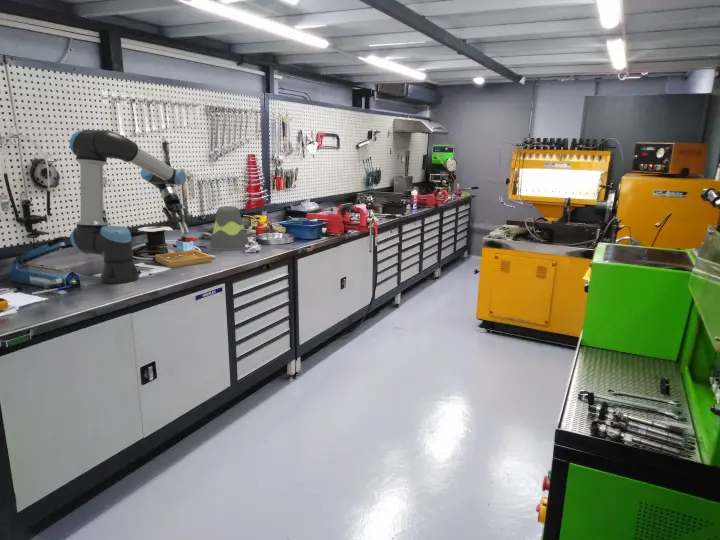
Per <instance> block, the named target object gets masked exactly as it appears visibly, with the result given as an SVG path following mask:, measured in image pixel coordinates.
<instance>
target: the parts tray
mask: <svg viewBox="0 0 720 540" xmlns="http://www.w3.org/2000/svg"><path fill="white" fill-rule="evenodd" d="M193 254H195V255H193ZM179 255H184V256H179ZM185 255H186V256H185ZM175 256H178V257H175ZM166 257H170V258H166ZM154 258H155V259H154V261H155V262H157V263H159V264H161V265H163V266H165V267H168V269H172V268H180V267H187V266H195V265H202V264H209V263H210V264H211V263H213V257H212V256H211V255H209V254H207V253H204V252H202V251H199V250H197V249H193V250H192V249H191V250H184V251H176V252H166V253H160V254H159V253H158V254H157V253H156V254H155V255H154Z"/></svg>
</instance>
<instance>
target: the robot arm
mask: <svg viewBox="0 0 720 540" xmlns="http://www.w3.org/2000/svg"><path fill="white" fill-rule="evenodd" d="M69 148H70V151H71V152H72V153H73V155H74V156H75V159H76V162H77V163H78V164H80V165H79V166H80V168H79V171H80V172H79V173H80V174H79V175H80V176H79V177H80V179H79V180H80V186H79V187H80V219H79V220H78V222H76V227H75V228H74V229H73V230H72V231H71V233H70V237H69V238H70V242H71V243H70V244H71V245H72V247H73V248H74V249H75V250H76V251H78V252H79V253H83V254H86V255H99V256H102V257H103V267H102V271H101V275H100V280H101V282H102V283H104V284H126V283H130V282H135V281H137V280H139V278H140V274H139V270H138V269H137V267H136V264H135V262H134V254H133V243H132V242H133V240H132V234H131V231H130V229H129V228H127V227H125V226H120V225H119V226H118V225H107V223H106V222H105V221H104V219H103V218H104V216H103V215H104V214H103V213H104V207H103V205H104V203H103V201H104V197H103V196H104V193H103V192H104V191H103V189H104V185H103V183H104V181H103V175H104V173H103V170H104V166H105V165H106V164H107V159H117V160H121V161H123V162H124V163H131V164H133V165H135V166H137V167H138V168H141V170H140V174H139V175H140V177H141V178H142V179H144V180H145V182H148V183H149V184H151V185H152V186H154V187H156V189H158V190H159V192H160V196H161V198H162V200H163V202H164V205H165V206H164V207H162V210H161V212H162V213H164V214H165V217H166V218H167V220H168V221H169V223H170V224H171V225H174V226H175V227H176V229H177V230H179V232H180V234H181V237H182V236H183V235H184V230H183V228H182V221H183V218H182V217H184V221H185V236H188V235H189V233H190V231H189V223H190V215H189V212H188V208H189V206H188V205H186V206H184V205H183V204H182V203H181V200H180V199H179V196H178V192H177V191H176V188H175V186H179V185H180V186H181V185H184V184H185V183H186V181H187V174H186V171H184V170H183V169H179V168H178V169H175V168H173V167H172V166H170V165H168V164H167V163H165V162H164V161H162V160H160V159H158V158H157V157H155V156H153V155H152V154H150V153H148V152H146V151H145V150H144V149H142V148H140V147H139V145H138V144H137V143H136V142H135V141H133V140H131V139H129V138H127V137H126V136H124V135H122V134H119V133H117V132H115V131H112V130H106V129H101V130H100V129H82V130H81V129H79V130H77V131H75V132H74V133H73V134H72V135H71V137H70V138H69ZM174 185H175V186H174ZM182 211H183V212H182ZM170 212H171V213H170ZM178 219H180V221H179V220H178Z"/></svg>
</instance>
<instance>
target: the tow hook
mask: <svg viewBox="0 0 720 540" xmlns="http://www.w3.org/2000/svg"><path fill="white" fill-rule="evenodd" d="M184 217H185V216H184ZM184 217H182V218H183V221H181V225H182V228H183V230H184V235H183V236H182V235H181V237H180V238H177V242H179V243H180V242H181V243H191V242H197V240H198V239H197V238H196V237H187V236H186V233H185V221H184Z"/></svg>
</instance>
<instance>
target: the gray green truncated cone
mask: <svg viewBox="0 0 720 540" xmlns="http://www.w3.org/2000/svg"><path fill="white" fill-rule="evenodd" d="M248 242H249V239H248V235H247V233H246V230H245V227H244V224H243V219H242V215H241V212H240V209H239V208H238V206H237V207H236V206H232V205H231V206H227V205H226V206H219V207H218V208H217V211H216V214H215V219H214V227H213V230H212V234H211V240H210V243H209V244H207V245H206V246H205V247H206V248H207V249H209V250H214V251H236V250H237V251H238V250H245V244H247V243H248ZM249 243H250V242H249Z"/></svg>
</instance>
